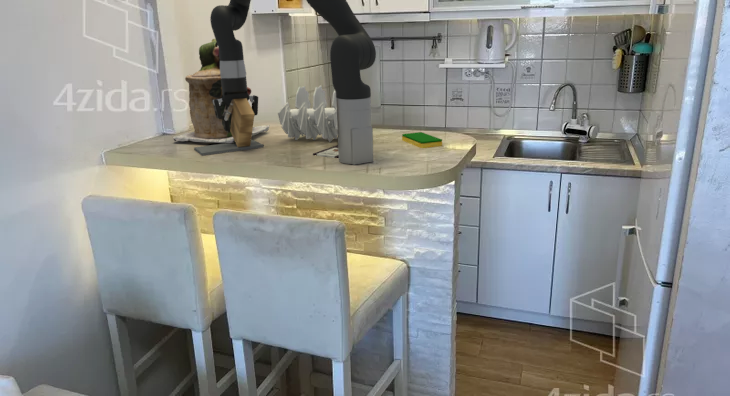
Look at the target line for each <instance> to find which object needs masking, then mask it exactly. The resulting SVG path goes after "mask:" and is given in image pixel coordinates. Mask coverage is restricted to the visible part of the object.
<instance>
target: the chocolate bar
mask: <svg viewBox="0 0 730 396" xmlns="http://www.w3.org/2000/svg"><path fill="white" fill-rule="evenodd" d="M315 155H316V156H315ZM312 156H315V157H324V158H332V159H339V154H338V144H337V145H334V146H331V147H328V148H325V149H323V150H320V151H317V152H314V153H313V152H312Z"/></svg>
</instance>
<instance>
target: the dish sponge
mask: <svg viewBox="0 0 730 396" xmlns="http://www.w3.org/2000/svg"><path fill="white" fill-rule="evenodd" d="M401 140H402V141H403V142H406V143H407V144H411V145H412V146H414V147H418V148H419V149H427V148H437V147H443V139H441V138H438V137H436V136H433V135H430V134H428V133H425V132H421V131H419V132H417V131H416V132H410V133H409V132H408V133H403V134H402V135H401Z"/></svg>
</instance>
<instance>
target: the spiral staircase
mask: <svg viewBox="0 0 730 396" xmlns="http://www.w3.org/2000/svg"><path fill="white" fill-rule="evenodd" d="M309 97H310V93H309V92H308V90H307V89H306V86H305V85H303V86H301V85H300V86H298V88H297V91H296V93H295V100H294V101H295V103H294V107H295V108H293V109H292V108H290V106H291V105H290V103H289V101H286V103H284V105H283V106H282V107H281V109H279V111H278V112H277V117H278V119H279V120H278V121H279V123H280V125H281V129H282V131H284V133H285V134H286V135H287V138H290V139H291V138H293V139H295V141H297V140H298V139H299V138H300V136H302V137H304V136H305V139H306V140H308V139H312V141H315V140H316V139H317V138H318V136H321V137H322V139H324V140H328V142H329V143H332V141H333V139H334V140H338V131H337V106H336V91H335V89H333V93H332V99H331V101H332V102H331V107H327V106H328V101H327V99H326V91H325V90H324V89H323V85H319V86H315V88H314V91H313V95H312V104H311V102H310V98H309ZM311 106H312V108H311Z"/></svg>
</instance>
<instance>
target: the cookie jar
mask: <svg viewBox="0 0 730 396" xmlns="http://www.w3.org/2000/svg"><path fill="white" fill-rule="evenodd" d="M198 55H199V60H200V65H201V67H200V69H199V70H198V71H196V72H194V73H193V74H189V75H186V76H185V78H184V79H185V81H186V82H187V83H188V106H189V116H190V120H191V121H190V122H191V124H192V125H193V128H194V131H191V132H185V133H182V134H180V135H179V134H178V135H175V136H172V139H173V141H174V142H177V141H178V142H188V141H189V142H192V143H215V144H224V143H233V142H235V140H234V138H233V136H232V134H231V131H230V133H227V132H226V131H225V130H224V126H223V120H222V119H218V118H216V114H215V110H214V106H213V102H212V100H213V99H219V98H221V97H222V86H221V77H220V58H219V47H218V44H217V42H216V39H215V38H212V40H211V42H207V43H204V44H201V45H200V46H199V48H198ZM247 92H248V95H249V96H251V94H252V88H250V87H248V86H247ZM225 106H226V105H225V104H224V103H223V102H221V105H220V110H221V114H222V115H223V113H224V109H225ZM231 119H232V112H231V114H230V115H229V118H228V120H229V125H230V129H231ZM269 129H270V124H267V125H264V124H263V125H257V126H253V129H252V137H253V136H255V135H258V134H261V133H264V132H265V133H266V132H268V131H269Z"/></svg>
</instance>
